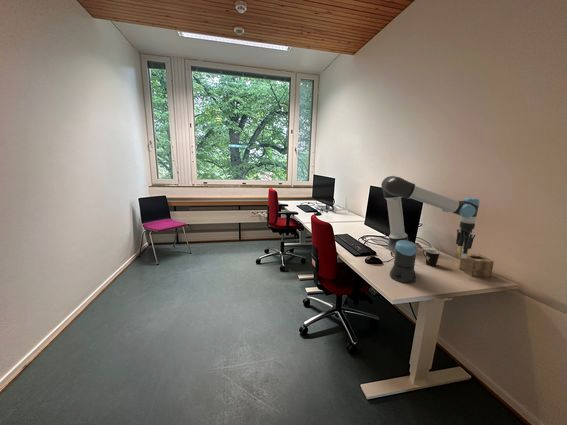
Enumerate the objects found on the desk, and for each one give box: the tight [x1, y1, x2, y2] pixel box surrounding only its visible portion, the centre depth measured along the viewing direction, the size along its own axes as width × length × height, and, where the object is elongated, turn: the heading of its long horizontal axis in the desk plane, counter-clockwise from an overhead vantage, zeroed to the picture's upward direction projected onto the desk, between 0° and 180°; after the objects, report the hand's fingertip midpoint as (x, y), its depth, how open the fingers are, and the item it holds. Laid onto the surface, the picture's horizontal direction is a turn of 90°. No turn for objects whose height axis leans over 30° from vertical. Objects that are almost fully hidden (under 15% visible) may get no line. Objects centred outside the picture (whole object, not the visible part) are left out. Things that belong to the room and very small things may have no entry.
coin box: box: [458, 253, 495, 278], centre depth 156 cm, size 12×12×11 cm
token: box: [455, 247, 470, 259], centre depth 152 cm, size 5×3×6 cm, turn 86°
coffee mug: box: [422, 249, 440, 267], centre depth 170 cm, size 12×9×10 cm
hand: (461, 256), depth 153 cm, fingers closed on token, 3 cm apart
